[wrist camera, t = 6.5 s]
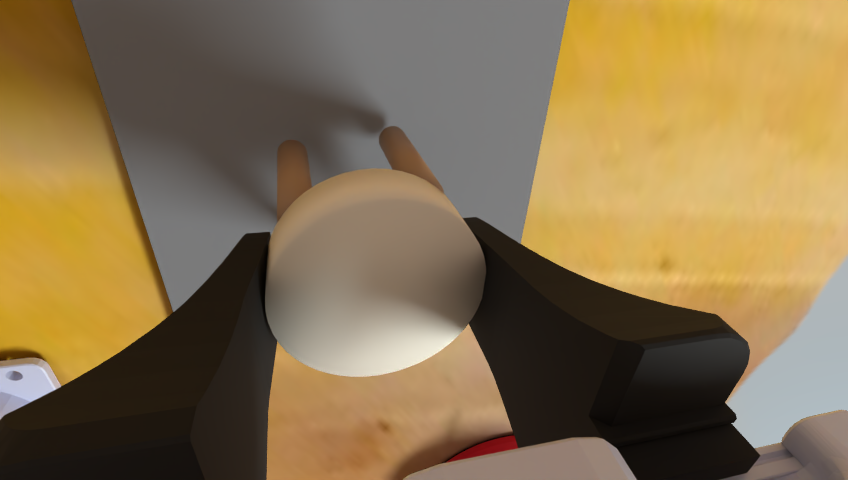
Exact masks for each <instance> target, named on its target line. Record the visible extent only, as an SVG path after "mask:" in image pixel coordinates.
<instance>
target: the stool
mask: <svg viewBox="0 0 848 480" xmlns="http://www.w3.org/2000/svg"><path fill="white" fill-rule="evenodd" d="M379 145H380V147H381V149H382V150H383V152H384V154H385V156H386V158H387V160H388V162H389V164H390V166H391V168H392V170H391V169H375V168H373V169H362V170H355V171H351V172H346V173H342V174H340V175H337V176H334V177H331V178H329V179H327V180H325V181H322V182H320V183H318V184H316V185H315V186H313V187H312V183H311V176H310V169H309V162H308V155H307V150H306V148H305V146H304V145H303V144H302V143H301V142H299V141H297V140H287V141H284V142H283V143H281V144H280V146H279V147H278V151H277V224H276V226H275V228H274V230H273V232H272V235H271V238H270V241H269V245H268V255H267V268H266V287H265V310H266V316H267V320H268V324H269V326H270V328H271V331H272V333H273V335H274V336H275V338H276V339H277V341H278V342H279V344H280V345H281V346H282V347H283V348H284V349H285V350H286V351H287V352H288V353H289V354H290V355H291V356H293V357H294V358H295V359H297V360H298V361H300V362H302V363H303V364H305V365H307V366H309V367H312V368H314V369H316V370H319V371H323V372H326V373H329V374H335V375H341V376H352V377H360V376H375V375H382V374H387V373H392V372H395V371H398V370H402V369H405V368H408V367H410V366H413V365H415V364H418V363H420V362H422V361H424V360H426V359H428V358H429V357H431V356H433V355H434V354H436V353H437V352H439V351H440V350H442V349H443V348H444V347H446V346H447V345H448V344H450V343H451V342H452V341H453V340H454V339H455V338H456V337H457V336H458V335H459V334H460V333H461V332H462V331H463V330H464V329H465V327H466V326H467V325H468V323H469V322H470V321H471V319H472V318H473V316H474V314H475V313H476V311H477V309H478V307H479V304H480V302H481V300H482V295H483V289H484V283H485V277H486V263H485V258H484V254H483V252H482V249H481V246H480V244H479V242H478V241H477V239H476V237H475V236H474V234H473V233H472V231H471V230H470V228H469V227H468V226H467V224H466V223H465V221H464V220H463V218H462V217H461V215H460V214H459V213H458V211H457V210H456V208H455V207H454V205H453V204H452V203H451V201H450V200H449V199H448V198H447V197H446V195H445V194H444V190H443V188H442V186H441V184H440V183H439V182H438V180H437V179H436V177H435V176H434V174H433V173H432V172H431V170H430V169H429V167H428V166H427V164H426V163H425V162H424V160H423V159H422V157H421V156H420V154H419V153H418V152H417V150H416V149H415V147H414V146H413V144H412V143H411V142H410V140H409V139H408V137H407V136H406V134H405V133H404V132H403V130H402V129H401V128H399V127H396V126H389V127H387V128H385V129H384V130H383V131H382V132H381V133H380V136H379Z"/></svg>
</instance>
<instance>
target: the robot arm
mask: <svg viewBox="0 0 848 480" xmlns="http://www.w3.org/2000/svg"><path fill="white" fill-rule="evenodd" d="M463 220H464V221H465V223H466V224H467V226H468V227H469V228H470V230H471V231H472V233H473V234H474V236H475V237H476V239H477V241H478V242H479V244H480V246H481V249H482V252H483V254H484V258H485V263H486V277H485V283H484V289H483V295H482V300H481V302H480V304H479V307H478V309H477V311H476V313H475V314H474V316H473V318H472V319H471V321H470V322H469V325H470V327H471V329H472V331H473V333H474V335H475V337H476V339H477V341H478V343H479V345H480V347H481V349H482V352H483V354H484V356H485V358H486V360H487V362H488V364H489V366H490V368H491V371H492V373H493V375H494V378H495V381H496V384H497V386H498V389H499V392H500V395H501V398H502V400H503V403H504V406H505V409H506V412H507V415H508V418H509V421H510V424H511V427H512V430H513V433H514V436H515V439H516V443H517V446H518V448H517V449H512V450H507V451H502V452H497V453H492V454H487V455H482V456H477V457H472V458H467V459H462V460H457V461H452V462H447V463H442V464H438V465H435V466H432V467H429V468H427V469H424V470H421V471H418V472H415V473H412V474H410V475H408V476H407V477H405V478H404V479H403V480H848V411H846V410H838V411H833V412H828V413H824V414H819V415H814V416H810V417H806V418H804V419H801V420H800V421H798V422H796V423H795V424H794V425H793V426H792V427H791V428H789V430H788V431H787V432H786V434H785V435H784V437H783V438H782V442H781V443H777V444H772V445H768V446H764V447H759V448H755V449H754V448H753V447H752V446H751V444H749V442H748V441H747V440H746V439H745V438H744V437H743V436H742V435H741V434H740V433H739V431H737V429H736V428H735V427H734V426H733V425H732V424H731V423H734V422H735V420H736V419H737V418H736V414H735V413H734V412H733V411H732V410H731V409H730V408H729V407H728V406H727V404H726V403H725V401H726V400H727V398H728V397H729V395H730V394H731V392H732V390H733V389H734V387H735V386H736V384H737V383H738V381H739V379H740V378H741V376H742V375H743V373H744V371H745V369H746V367H747V365H748V361H749V355H750V349H749V346H748V342H747V341H746V340H745V339H744V338H742V337H741V336H740V335H739V334H738V333H737V332H736V331H735V330H734V329H732V328H731V327H730V326H729V325H728V324H727V323H726V322H725V321H723V320H722V319H721V318H720V317H719V316H718V315H716V314H711V313H706V312H701V311H697V310H692V309H687V308H682V307H677V306H672V305H668V304H664V303H661V302H657V301H653V300H649V299H646V298H642V297H639V296H635V295H632V294H629V293H626V292H623V291H620V290H617V289H614V288H611V287H608V286H606V285H603V284H600V283H598V282H595V281H592V280H590V279H587V278H585V277H583V276H581V275H578V274H576V273H574V272H572V271H569V270H567V269H565V268H563V267H561V266H559V265H557V264H555V263H553V262H551V261H550V260H548V259H546V258H544V257H542V256H540V255H538V254H537V253H535V252H533V251H532V250H530V249H528V248H527V247H525V246H523V245H522V244H520V243H518V242H517V241H515V240H513V239H512V238H510V237H509V236H507V235H506V234H504V233H502V232H501V231H499V230H498V229H496V228H495V227H493V226H491V225H490V224H488V223H486V222H485V221H483V220H481V219H479V218H477V217H469V218H463ZM270 238H271V234H270V232H259V233H246V234H245V235H244V236H243V237H242V238H241V239H240V240H239V242H238V243H237V244H236V246H235V247H234V248H233V249H232V251H231V252H230V253H229V254H228V256H227V257H226V258H225V259H224V261H223V262H222V263H221V264H220V265H219V267H218V268H217V269H216V270H215V271H214V272H213V273H212V275H211V276H210V277H209V278H208V279H207V280H206V281H205V282H204V283H203V284H202V285H201V287H200V288H199V289H198V290H197V291H196V292H195V293H194V294H193V295H192V296H191V297H190V298H189V299H188V300H187V301H186V302H185V303H184V304H182V305H181V306H180V307H179V308H178V309H177V310H176V311H174V312H173V313H172V314H171V315H170V316H168V317H167V318H166V319H165V320H164V321H162V322H161V323H160V324H159V325H157V326H156V327H155V328H153V329H152V330H151V331H149V332H148V333H146V334H145V335H143V336H142V337H141V338H139V339H138V340H136V341H135V342H134V343H132V344H131V345H129V346H128V347H127V348H125V349H124V350H122V351H121V352H119V353H118V354H116V355H115V356H113V357H111V358H110V359H108V360H106V361H105V362H103V363H102V364H100V365H98V366H97V367H95V368H93V369H92V370H90V371H88V372H86V373H85V374H83V375H81V376H80V377H78V378H76V379H74V380H72V381H71V382H69V383H67V384H65V385H63V386H61V385H60V383H59V381H58V380H57V378H56V376H55V375H54V373H53V371H52V369H51V368H50V366H49V364H48V363H47V362H46V361H44V360H42V359H39V358H22V359H14V360H5V361H0V480H266V473H267V431H268V407H269V396H270V389H271V382H272V375H273V367H274V360H275V353H276V346H277V339H276V338H275V336H274V335H273V333H272V331H271V328H270V326H269V324H268V320H267V316H266V310H265V287H266V268H267V255H268V245H269V241H270ZM16 371H17V372H16Z"/></svg>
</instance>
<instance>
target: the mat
mask: <svg viewBox="0 0 848 480" xmlns="http://www.w3.org/2000/svg"><path fill="white" fill-rule="evenodd" d="M71 1H72V4H73V7H74V10H75V13H76V16H77V19H78V22H79V25H80V28H81V31H82V35H83V38H84V41H85V44H86V47H87V50H88V53H89V56H90V59H91V62H92V65H93V68H94V71H95V74H96V77H97V80H98V83H99V86H100V89H101V93H102V96H103V99H104V102H105V105H106V108H107V111H108V114H109V117H110V120H111V123H112V126H113V129H114V132H115V135H116V138H117V141H118V144H119V148H120V151H121V154H122V157H123V160H124V163H125V166H126V169H127V172H128V175H129V178H130V181H131V184H132V187H133V190H134V193H135V196H136V199H137V202H138V206H139V209H140V212H141V215H142V218H143V221H144V224H145V227H146V230H147V233H148V236H149V239H150V242H151V245H152V248H153V251H154V254H155V257H156V260H157V264H158V267H159V270H160V273H161V276H162V279H163V282H164V285H165V288H166V291H167V294H168V297H169V300H170V303H171V306H172V309H173V312H174V311H176V310H177V309H178V308H179V307H180V306H181V305H182V304H184V303H185V302H186V301H187V300H188V299H189V298H190V297H191V296H192V295H193V294H194V293H195V292H196V291H197V290H198V289H199V288H200V287H201V285H202V284H203V283H204V282H205V281H206V280H207V279H208V278H209V277H210V276H211V275H212V273H213V272H214V271H215V270H216V269H217V268H218V267H219V265H220V264H221V263H222V262H223V261H224V259H225V258H226V257H227V256H228V254H229V253H230V252H231V251H232V249H233V248H234V247H235V246H236V244H237V243H238V242H239V240H240V239H241V238H242V237H243V236H244V235H245V234H246V233H259V232H270V234H271V235H272V232H273V230H274V228H275V226H276V224H277V151H278V147H279V146H280V144H281V143H283V142H284V141H287V140H297V141H299V142H301V143H302V144H303V145H304V146H305V148H306V150H307V155H308V162H309V169H310V176H311V183H312V187H313V186H315V185H316V184H318V183H320V182H322V181H325V180H327V179H329V178H331V177H334V176H337V175H340V174H342V173H346V172H351V171H355V170H362V169H373V168H375V169H391V170H392V168H391V166H390V164H389V162H388V160H387V158H386V156H385V154H384V152H383V150H382V149H381V147H380V145H379V136H380V133H381V132H382V131H383V130H384V129H385V128H387V127H389V126H396V127H399V128H401V129H402V130H403V132H404V133H405V134H406V136H407V137H408V139H409V140H410V142H411V143H412V144H413V146H414V147H415V149H416V150H417V152H418V153H419V154H420V156H421V157H422V159H423V160H424V162H425V163H426V164H427V166H428V167H429V169H430V170H431V172H432V173H433V174H434V176H435V177H436V179H437V180H438V182H439V183H440V184H441V186H442V188H443V190H444V194H445V195H446V197H447V198H448V199H449V200H450V201H451V203H452V204H453V205H454V207H455V208H456V210H457V211H458V213H459V214H460V215H461V217H462V218H469V217H477V218H479V219H481V220H483V221H485V222H486V223H488V224H490V225H491V226H493V227H495V228H496V229H498V230H499V231H501V232H502V233H504V234H506V235H507V236H509V237H510V238H512V239H513V240H515V241H517V242H518V243H521V238H522V233H523V229H524V224H525V219H526V214H527V209H528V204H529V199H530V194H531V189H532V184H533V179H534V174H535V169H536V164H537V159H538V154H539V149H540V144H541V139H542V134H543V129H544V125H545V120H546V115H547V110H548V105H549V100H550V95H551V90H552V85H553V80H554V75H555V70H556V65H557V60H558V55H559V50H560V45H561V40H562V35H563V30H564V25H565V20H566V16H567V11H568V6H569V1H570V0H71Z"/></svg>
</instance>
